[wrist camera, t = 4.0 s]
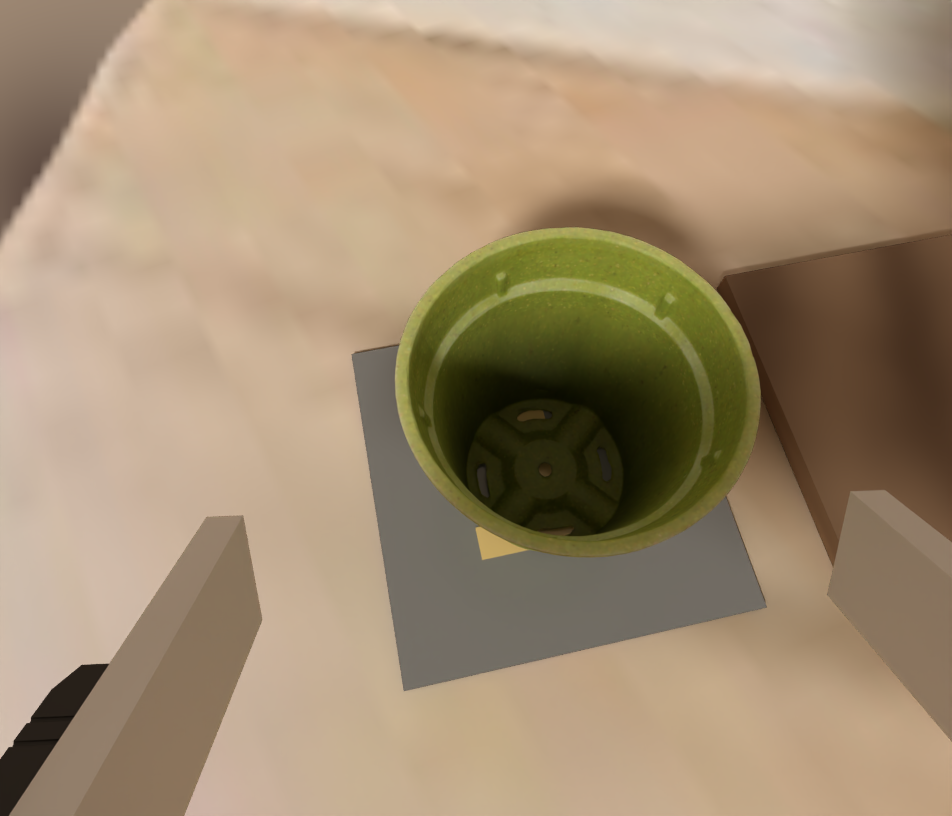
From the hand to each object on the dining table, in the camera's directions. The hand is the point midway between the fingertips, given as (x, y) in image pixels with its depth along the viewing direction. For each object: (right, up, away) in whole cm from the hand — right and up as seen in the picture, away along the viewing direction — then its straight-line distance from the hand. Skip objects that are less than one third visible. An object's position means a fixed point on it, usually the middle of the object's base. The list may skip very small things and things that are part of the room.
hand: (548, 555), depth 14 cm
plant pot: (+1, +1, +11) cm, 11 cm away
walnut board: (+17, +4, +12) cm, 21 cm away
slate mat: (+1, +1, +11) cm, 11 cm away
